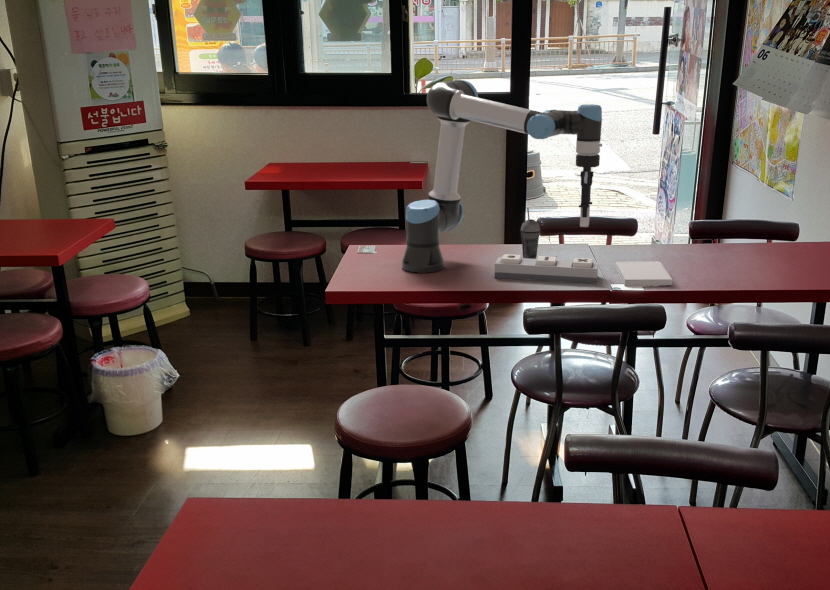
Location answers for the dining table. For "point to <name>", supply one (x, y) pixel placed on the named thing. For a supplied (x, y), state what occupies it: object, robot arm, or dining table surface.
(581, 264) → the key cross
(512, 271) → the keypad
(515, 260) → the block
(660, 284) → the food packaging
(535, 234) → the beverage cup
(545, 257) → the bar
